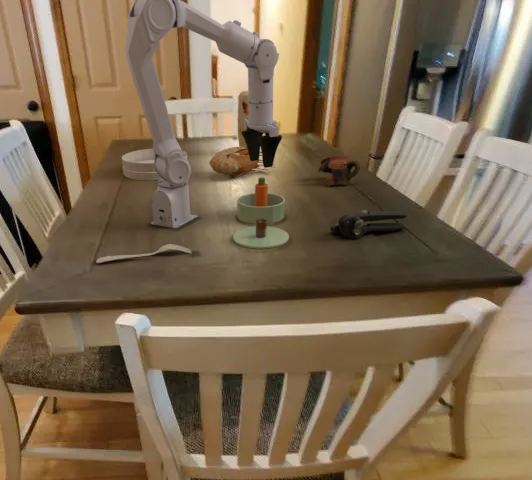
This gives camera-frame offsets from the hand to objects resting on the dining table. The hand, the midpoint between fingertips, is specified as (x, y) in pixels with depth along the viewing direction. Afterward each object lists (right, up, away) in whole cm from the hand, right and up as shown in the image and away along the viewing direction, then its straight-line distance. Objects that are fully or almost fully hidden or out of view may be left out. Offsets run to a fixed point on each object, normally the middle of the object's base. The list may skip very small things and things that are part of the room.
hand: (261, 163), depth 117 cm
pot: (0, -14, -1) cm, 14 cm away
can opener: (+23, -22, -12) cm, 34 cm away
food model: (0, +30, +57) cm, 64 cm away
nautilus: (-3, +11, +32) cm, 34 cm away
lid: (-2, -23, -14) cm, 27 cm away
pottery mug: (+25, +4, +22) cm, 33 cm away
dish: (-31, +15, +40) cm, 53 cm away
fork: (-26, -29, -19) cm, 43 cm away
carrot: (0, -14, -1) cm, 14 cm away
